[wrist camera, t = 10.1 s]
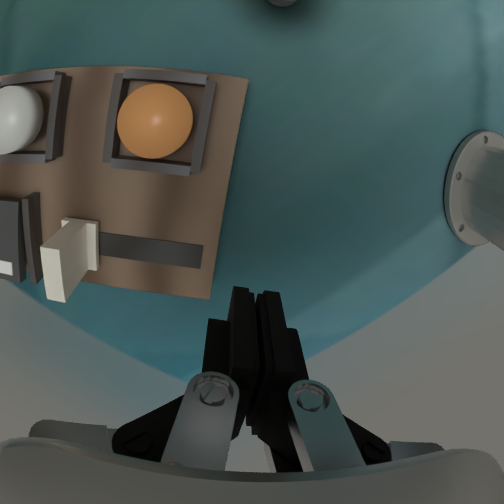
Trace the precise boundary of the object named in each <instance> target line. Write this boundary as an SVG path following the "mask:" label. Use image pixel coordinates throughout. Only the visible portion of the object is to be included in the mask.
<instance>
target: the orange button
mask: <svg viewBox="0 0 504 504" xmlns="http://www.w3.org/2000/svg"><path fill="white" fill-rule="evenodd" d="M193 126H194V111H193V107H192V105H191V103H190V101H189V100H188V99H187V97H186V96H185V95H184V94H182V93H181V92H180V91H178V90H177V89H175V88H173V87H171V86H169V85H165V84H149V85H145V86H143V87H140V88H138V89H137V90H135V91H134V92H132V93H131V94H130V95H129V96H128V97H127V98H126V100H125V101H124V102H123V104H122V106H121V108H120V110H119V113H118V118H117V129H118V134H119V137H120V139H121V141H122V143H123V144H124V146H125V147H126V148H127V149H128V150H129V151H131V152H132V153H134V154H135V155H137V156H140V157H143V158H151V159H154V158H161V157H164V156H167V155H169V154H171V153H173V152H174V151H176V150H177V149H178V148H180V147H181V146H182V145H183V144H184V143H185V142H186V141H187V139H188V138H189V136H190V135H191V132H192V130H193Z"/></svg>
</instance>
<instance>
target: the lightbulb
mask: <svg viewBox="0 0 504 504" xmlns="http://www.w3.org/2000/svg"><path fill="white" fill-rule="evenodd" d="M268 1H269V2H270V3H271V4H273V5H276V6H281V7H284V6H289V5H291V4H293V3H294V2H295V1H296V0H268Z"/></svg>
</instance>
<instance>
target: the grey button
mask: <svg viewBox="0 0 504 504" xmlns="http://www.w3.org/2000/svg"><path fill="white" fill-rule="evenodd" d="M43 114H44V112H43V103H42V100H41V97H40V96H39V94H38V93H37V91H35V90H34V89H33V88H31V87H26V86H6V87H3V88H1V89H0V154H1V155H2V154H7V153H11V152H14V151H18V150H21V149H24V148H26V147H28V146H29V145H30V144H31V143H32V142H33V141H34V140H35V138H36V137H37V135H38V133H39V131H40V129H41V126H42V122H43Z"/></svg>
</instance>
